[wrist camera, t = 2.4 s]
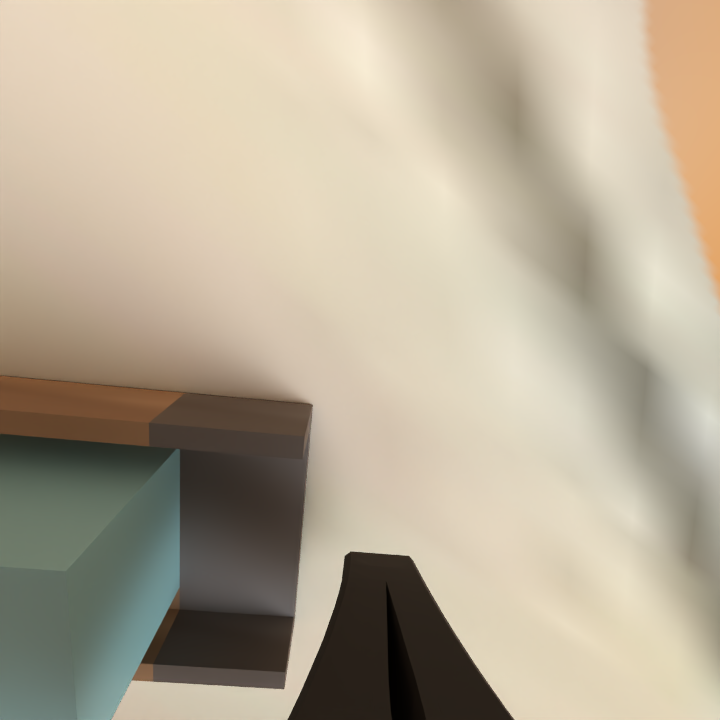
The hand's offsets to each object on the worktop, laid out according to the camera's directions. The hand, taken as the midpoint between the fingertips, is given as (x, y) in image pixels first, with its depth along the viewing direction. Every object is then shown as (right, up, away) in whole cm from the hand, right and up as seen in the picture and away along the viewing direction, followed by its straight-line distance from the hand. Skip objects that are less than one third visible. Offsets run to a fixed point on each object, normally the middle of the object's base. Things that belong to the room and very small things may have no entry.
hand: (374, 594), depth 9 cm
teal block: (-7, +1, +2) cm, 7 cm away
